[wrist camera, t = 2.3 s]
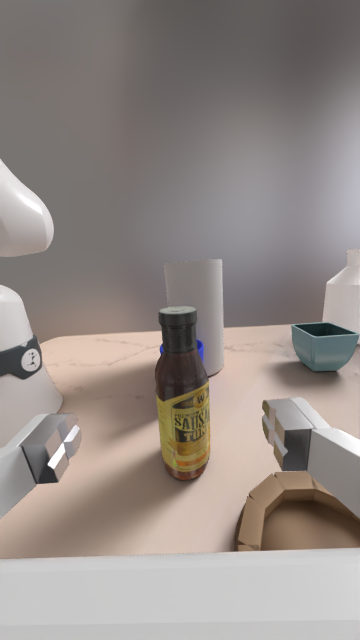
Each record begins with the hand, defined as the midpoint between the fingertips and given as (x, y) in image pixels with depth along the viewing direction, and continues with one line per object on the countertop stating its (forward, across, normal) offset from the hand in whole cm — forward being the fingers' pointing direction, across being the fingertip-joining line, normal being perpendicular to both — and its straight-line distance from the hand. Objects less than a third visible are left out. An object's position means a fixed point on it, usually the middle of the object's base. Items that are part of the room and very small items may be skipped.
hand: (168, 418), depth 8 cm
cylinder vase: (+36, -3, +18) cm, 40 cm away
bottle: (+47, -48, +18) cm, 70 cm away
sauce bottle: (+12, 0, +18) cm, 22 cm away
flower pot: (+32, -30, +18) cm, 47 cm away
